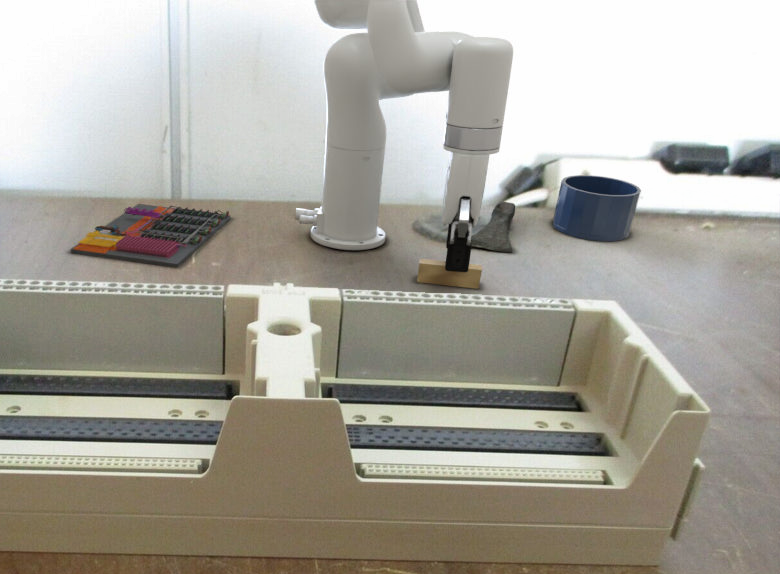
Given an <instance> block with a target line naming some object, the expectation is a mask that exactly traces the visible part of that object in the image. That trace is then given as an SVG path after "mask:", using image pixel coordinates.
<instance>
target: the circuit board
mask: <svg viewBox="0 0 780 574" xmlns="http://www.w3.org/2000/svg"><path fill="white" fill-rule="evenodd" d="M123 211H124V213H122V214H121V215H119V216H118V217H116V218H115V219H113V220H112V221H111V222H109V223H108V224H106V225H99V226H96V227H94V231H93V232H91V231H89V232H87V233H86V234H85V237H84V238H82V239H81V240H79V241H77V243H78V244H76V245H75V246H73V247H72V248H70V253H71V254H77V255H84V256H93V257H99V258H105V259H114V260H120V261H126V262H127V261H128V262H134V263H135V262H136V263H142V264H148V265H157V266H162V267H163V266H164V267H170V268H179V267H180V266H181V265H183V263H185V261H187V259H189V258H190V257H191V256H192V255H193V254H194V253H195V252H196V251H197V250H198V249H199V248H201V246H202V245H204V244H205V243H206V242H207V241H208V240H209V239H210V238H211V237H213V236H214V234H215V233H217V231H218V230H219V229H221V228H222V227H223V226H224V225H225V224H226V223H227V222H228V221H229V220H231V215H230V211H229V210H227V211H225V212H222V211H221V210H220V209H217V210H215V211H212V212H211V211H210V210H209V209H207V210H205V211H204V210H203V209H202V208H201V209H198V210H197V209H196V208H195V207H194V208H193V209H190V208H188V207H185V208H182V207H181V206H174V205H170V206H161V205H154V204H153V205H152V204H145V203H137V204H136V205H135V206H133V207H131V206H128V207H126V208H124V209H123ZM219 212H220V213H219Z"/></svg>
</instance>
